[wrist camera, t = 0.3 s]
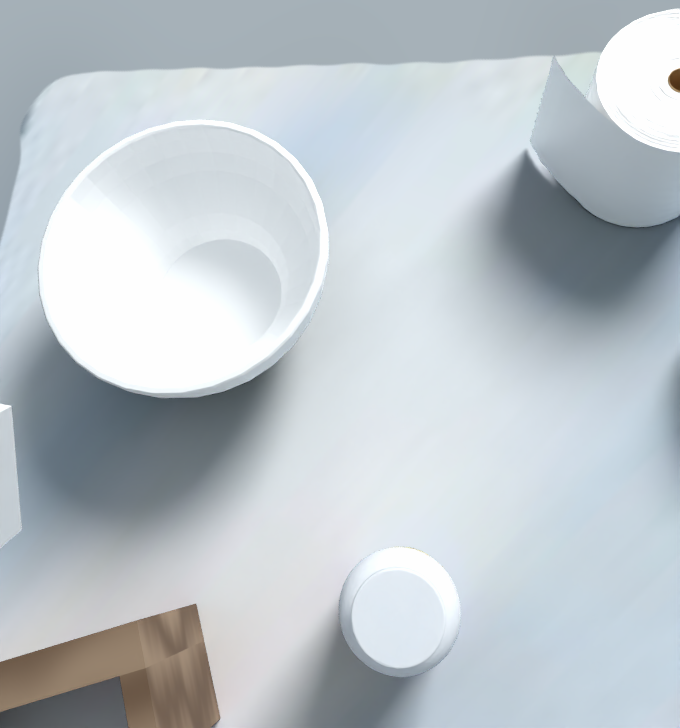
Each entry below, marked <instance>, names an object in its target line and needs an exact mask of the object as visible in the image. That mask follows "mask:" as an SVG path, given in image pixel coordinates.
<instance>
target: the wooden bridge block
mask: <svg viewBox="0 0 680 728" xmlns="http://www.w3.org/2000/svg"><path fill="white" fill-rule="evenodd" d="M118 676H120V682H121V688H122V694H123V700H124V705H125V711H126V717H127V723H128V728H211V727H212V726H213V725H214V724H215V723H216V722H217V721H218V720H219V719H220V715H219V710H218V705H217V700H216V696H215V691H214V686H213V681H212V677H211V672H210V667H209V662H208V658H207V653H206V648H205V643H204V639H203V634H202V629H201V624H200V620H199V615H198V610H197V605H196V604H193V605H190V606H186V607H183V608H179V609H176V610H172V611H169V612H165V613H162V614H158V615H155V616H151V617H148V618H144V619H140V620H137V621H134V622H130V623H127V624H124V625H120V626H117V627H114V628H111V629H107V630H104V631H101V632H97V633H94V634H91V635H88V636H84V637H81V638H78V639H74V640H71V641H68V642H65V643H61V644H58V645H55V646H51V647H48V648H45V649H42V650H38V651H35V652H32V653H28V654H25V655H22V656H19V657H15V658H12V659H9V660H5V661H2V662H0V712H2V711H5V710H8V709H12V708H15V707H18V706H22V705H25V704H28V703H32V702H35V701H38V700H41V699H45V698H48V697H51V696H55V695H58V694H61V693H65V692H68V691H71V690H75V689H78V688H81V687H85V686H88V685H91V684H95V683H98V682H101V681H104V680H108V679H111V678H114V677H118Z"/></svg>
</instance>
